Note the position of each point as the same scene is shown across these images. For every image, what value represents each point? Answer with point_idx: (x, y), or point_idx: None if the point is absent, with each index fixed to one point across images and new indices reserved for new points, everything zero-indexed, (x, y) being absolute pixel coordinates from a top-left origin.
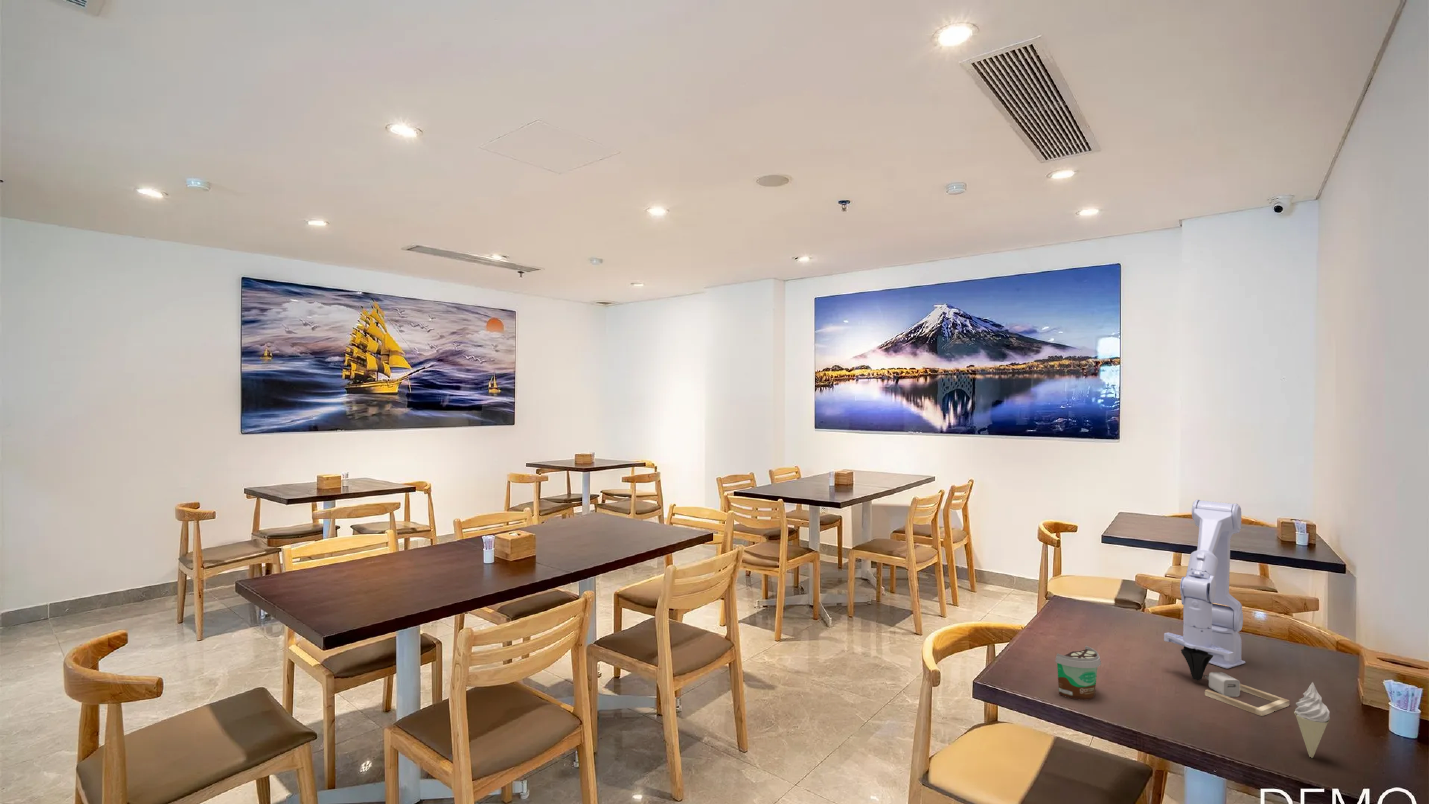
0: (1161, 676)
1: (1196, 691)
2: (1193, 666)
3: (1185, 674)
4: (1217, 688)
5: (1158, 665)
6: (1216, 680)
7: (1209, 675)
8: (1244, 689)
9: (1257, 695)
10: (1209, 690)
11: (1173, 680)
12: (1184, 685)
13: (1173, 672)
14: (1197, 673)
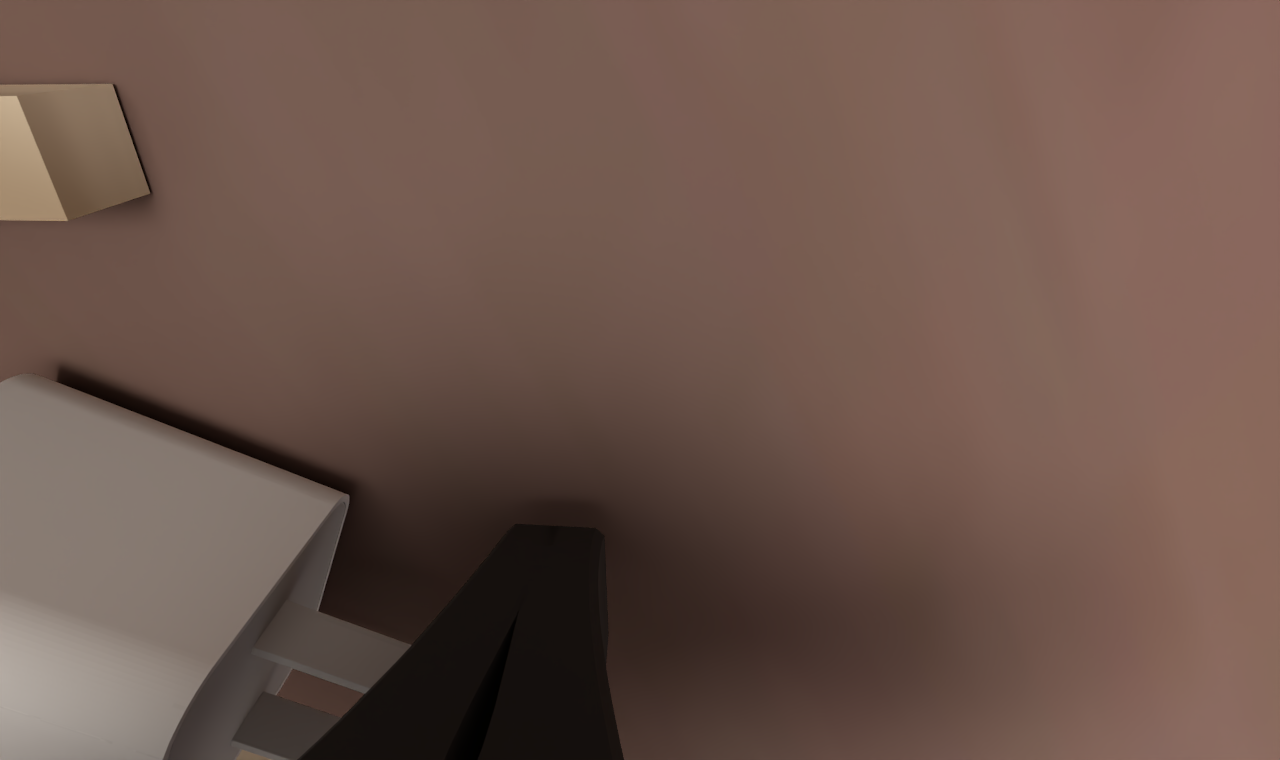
0: (1080, 267)
1: (308, 139)
2: (493, 757)
3: (833, 686)
4: (113, 449)
5: (1258, 697)
6: (21, 564)
7: (203, 659)
8: None
9: None
10: (12, 195)
11: (832, 284)
12: (589, 229)
13: (983, 625)
14: (438, 616)
